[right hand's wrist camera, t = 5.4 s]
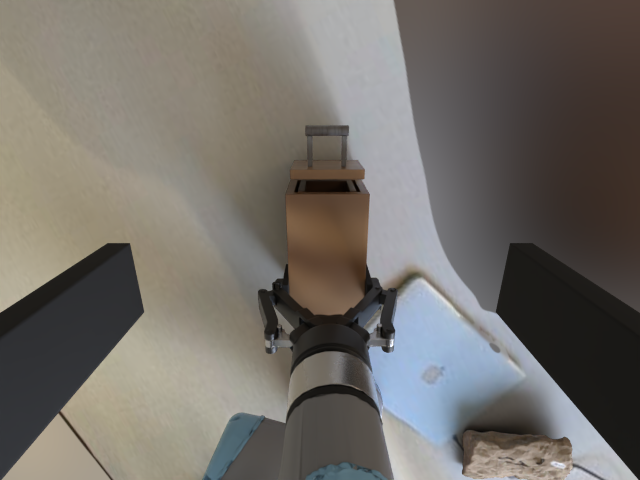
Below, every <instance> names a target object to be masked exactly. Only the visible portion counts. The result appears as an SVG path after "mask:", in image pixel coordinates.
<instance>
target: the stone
mask: <svg viewBox="0 0 640 480" xmlns="http://www.w3.org/2000/svg"><path fill="white" fill-rule="evenodd" d="M462 442H463V448H464V457H463V470H462V474H463V475H464V476H467V477H470V478H473V479H484V478H494V477H500V478H503V477H509V476H515V477H516V478H518V479H527V480H564V479H565V477H567V475H568V474H570V471H571V470H572V468H573V465H572V462H573V461H572V458H571V457H572V445H571V443H570V440H569V439H568V438H566V437H563V438H561V439H550V438H548V437H547V436H546V435H535V436H533V435H532V434H524V435H517V434H507V433H500V432H495V431H489V432H483V433H481V432H477V431H474V430H467V431H465V432H464V433H463V441H462Z"/></svg>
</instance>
